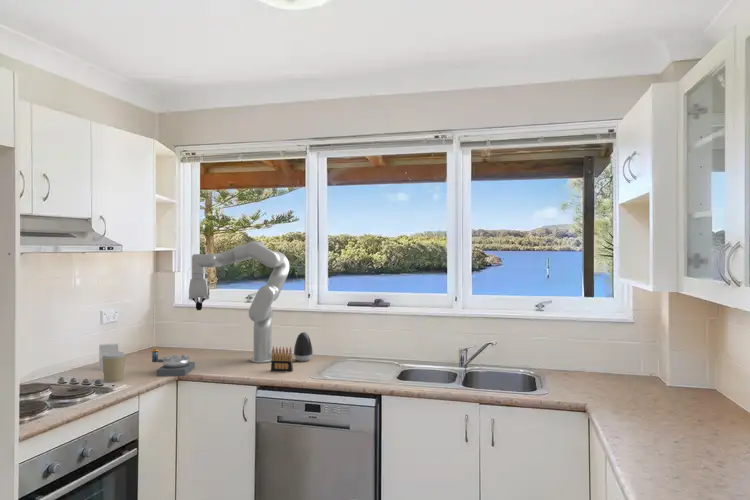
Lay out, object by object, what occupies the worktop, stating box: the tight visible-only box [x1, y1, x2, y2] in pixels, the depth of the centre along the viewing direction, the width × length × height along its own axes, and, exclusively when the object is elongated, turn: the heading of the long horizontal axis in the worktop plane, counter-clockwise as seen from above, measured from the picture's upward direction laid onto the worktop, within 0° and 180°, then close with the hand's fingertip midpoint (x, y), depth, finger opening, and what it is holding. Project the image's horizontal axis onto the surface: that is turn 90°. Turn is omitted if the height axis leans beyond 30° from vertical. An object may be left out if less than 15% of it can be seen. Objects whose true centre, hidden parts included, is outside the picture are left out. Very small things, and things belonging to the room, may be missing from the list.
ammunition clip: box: [270, 346, 294, 373], centre depth 243 cm, size 11×2×12 cm, turn 82°
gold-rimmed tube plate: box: [151, 348, 190, 368], centre depth 241 cm, size 18×12×8 cm, turn 90°
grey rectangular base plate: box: [156, 361, 196, 377], centre depth 241 cm, size 13×16×3 cm
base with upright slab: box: [98, 342, 120, 371], centre depth 249 cm, size 9×9×12 cm
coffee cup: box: [102, 351, 126, 383], centre depth 225 cm, size 9×9×12 cm
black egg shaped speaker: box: [293, 331, 314, 362], centre depth 267 cm, size 10×10×15 cm
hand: (199, 310), depth 268 cm, fingers closed
